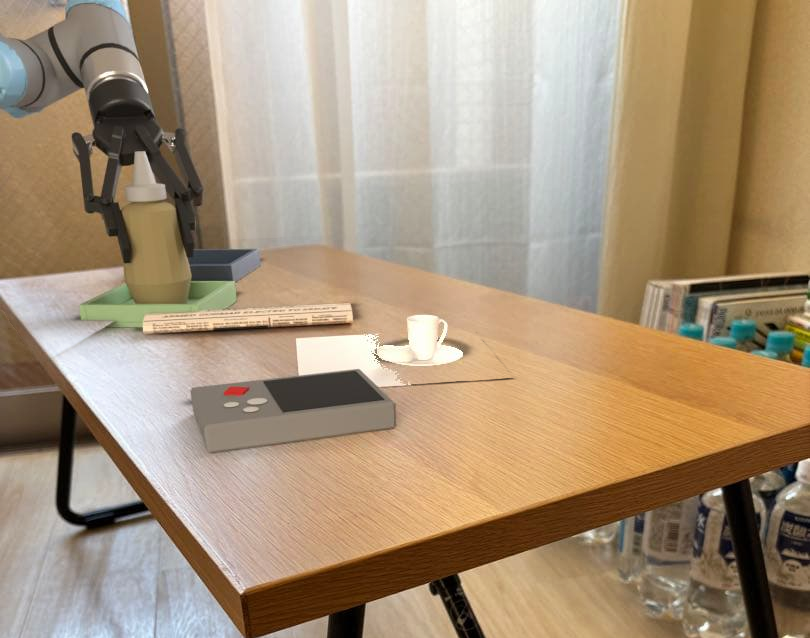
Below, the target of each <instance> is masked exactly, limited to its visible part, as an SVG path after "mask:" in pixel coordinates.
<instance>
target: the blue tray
mask: <svg viewBox="0 0 810 638" xmlns="http://www.w3.org/2000/svg"><path fill="white" fill-rule="evenodd" d="M260 253H261V252H260V249H259V248H194V251H193V257H191V258H188V262H189V266H190V271H191V275H192V277H191V281H235V284H236V283H237V282H238V281H240V280H242V279H243V278H245V277H247V276H248V275H250V274H251V273H252V272H254V271H255V270H256V269H258V268H260V267H262V266H261V265H262V263H261V255H260Z"/></svg>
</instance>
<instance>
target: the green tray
mask: <svg viewBox="0 0 810 638" xmlns="http://www.w3.org/2000/svg"><path fill="white" fill-rule="evenodd" d="M237 301H238V298H237V289H236V283H235V281H191V283H190V288H189V294H188V299H187V304H136V303H135V301H134V299H133V297H132V295H131V293H130V291H129V289H128V287H127V285H126V283H125V282H123V283H122V284H119V285H117V286H115V287H113V288H110V289H109V290H107V291H105V292H103V293H101V294H98V295H96V296H94V297H92V298H91V299H88V300H86V301H84V302H82V303H80V304H78V311H79V316H80V320H81V321H113V322H111V323H109V324H107V325H105V326H104V328H143V320H144V317H145V315H146V314H147V313H167V312H199V311H205V310H224V309H229V307H231V306H232V305H234V304H235V303H236V302H237Z"/></svg>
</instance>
